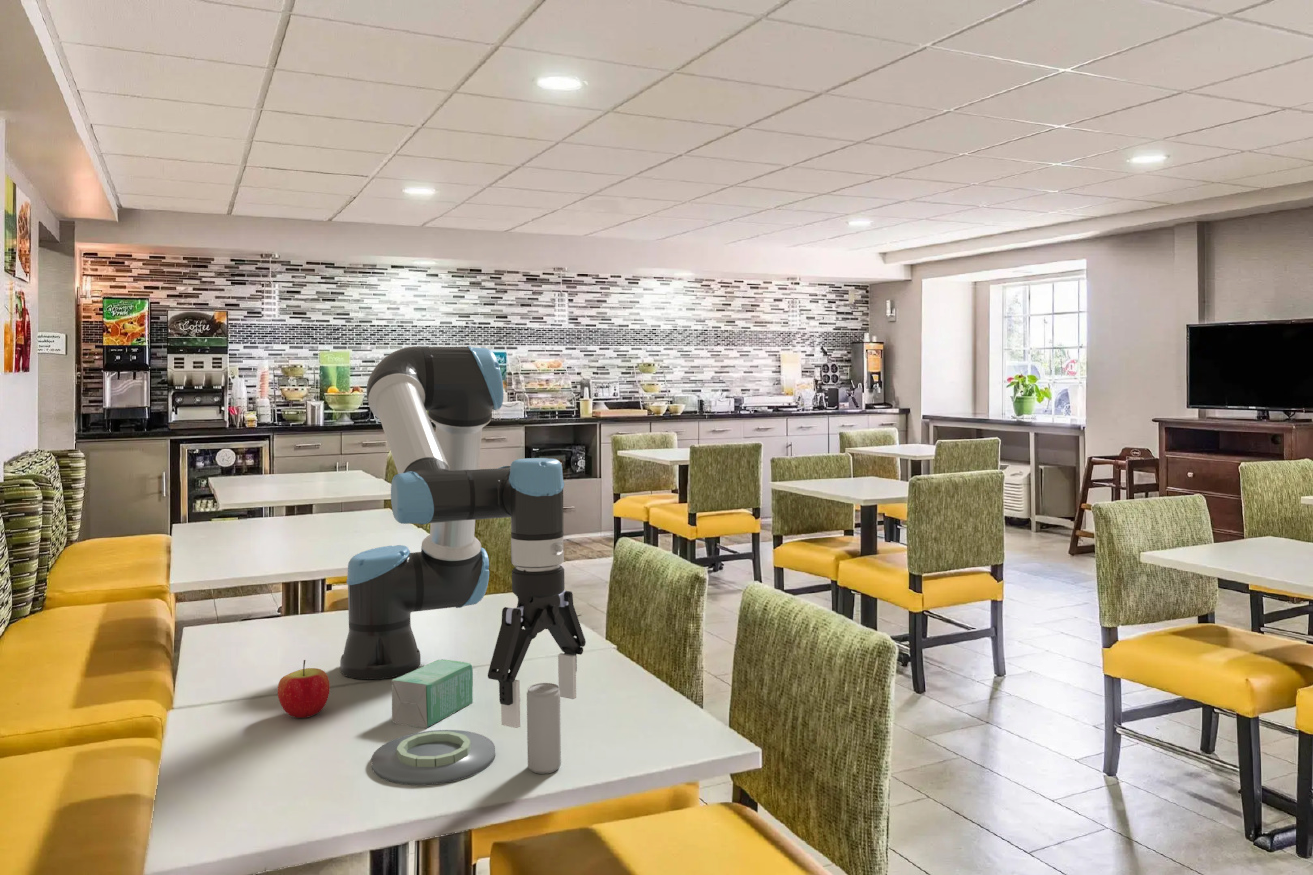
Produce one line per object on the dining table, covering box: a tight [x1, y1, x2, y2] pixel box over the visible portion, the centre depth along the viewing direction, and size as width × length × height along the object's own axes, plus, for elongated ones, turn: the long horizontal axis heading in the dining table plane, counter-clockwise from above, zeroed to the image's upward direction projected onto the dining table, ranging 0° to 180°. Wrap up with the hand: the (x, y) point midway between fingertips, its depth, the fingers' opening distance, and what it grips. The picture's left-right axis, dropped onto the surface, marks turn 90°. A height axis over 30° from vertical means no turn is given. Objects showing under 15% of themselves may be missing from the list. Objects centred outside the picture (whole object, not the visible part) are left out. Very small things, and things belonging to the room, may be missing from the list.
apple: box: [277, 659, 331, 719], centre depth 161 cm, size 8×8×10 cm
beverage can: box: [526, 682, 562, 775], centre depth 139 cm, size 5×5×12 cm
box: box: [391, 659, 474, 729], centre depth 162 cm, size 7×14×8 cm, turn 157°
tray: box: [371, 729, 496, 786], centre depth 143 cm, size 18×18×2 cm
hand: (540, 711), depth 138 cm, fingers open, 13 cm apart
